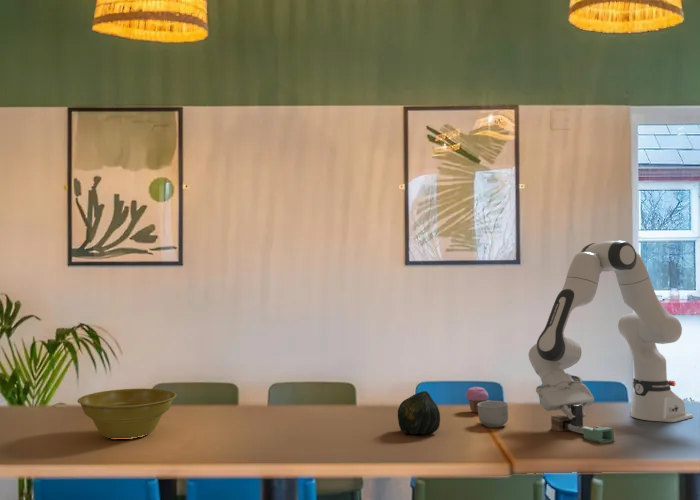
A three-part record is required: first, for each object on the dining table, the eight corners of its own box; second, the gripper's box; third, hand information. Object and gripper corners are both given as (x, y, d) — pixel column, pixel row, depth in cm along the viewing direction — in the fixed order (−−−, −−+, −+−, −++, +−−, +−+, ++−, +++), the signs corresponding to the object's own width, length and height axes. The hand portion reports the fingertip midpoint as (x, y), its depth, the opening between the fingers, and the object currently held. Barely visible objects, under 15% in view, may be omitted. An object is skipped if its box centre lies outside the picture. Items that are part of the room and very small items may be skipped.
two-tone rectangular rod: (570, 427, 221) (570, 402, 221) (603, 437, 207) (602, 410, 207) (564, 428, 219) (563, 402, 220) (596, 438, 206) (595, 411, 206)
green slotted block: (597, 436, 211) (597, 424, 211) (614, 441, 205) (613, 428, 205) (583, 438, 209) (583, 426, 209) (599, 443, 202) (599, 430, 203)
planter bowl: (194, 434, 219) (194, 395, 220) (104, 454, 196) (105, 410, 196) (146, 420, 241) (147, 385, 242) (60, 436, 218) (61, 397, 218)
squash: (382, 416, 220) (405, 386, 214) (409, 411, 231) (431, 382, 225) (406, 449, 212) (431, 419, 206) (432, 442, 223) (457, 414, 217)
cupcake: (490, 414, 246) (490, 388, 247) (468, 414, 246) (467, 388, 247) (486, 409, 255) (485, 384, 256) (464, 409, 255) (464, 384, 256)
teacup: (509, 429, 222) (508, 406, 222) (477, 428, 224) (477, 405, 224) (507, 420, 235) (507, 399, 236) (477, 419, 237) (477, 398, 238)
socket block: (567, 426, 225) (566, 413, 225) (575, 429, 221) (574, 416, 222) (551, 428, 222) (551, 415, 223) (559, 431, 219) (559, 418, 219)
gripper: (538, 380, 219) (558, 415, 209) (583, 376, 227) (605, 409, 217) (529, 391, 223) (549, 426, 213) (575, 387, 231) (596, 420, 221)
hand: (578, 417), depth 215 cm, fingers closed on two-tone rectangular rod, 3 cm apart
